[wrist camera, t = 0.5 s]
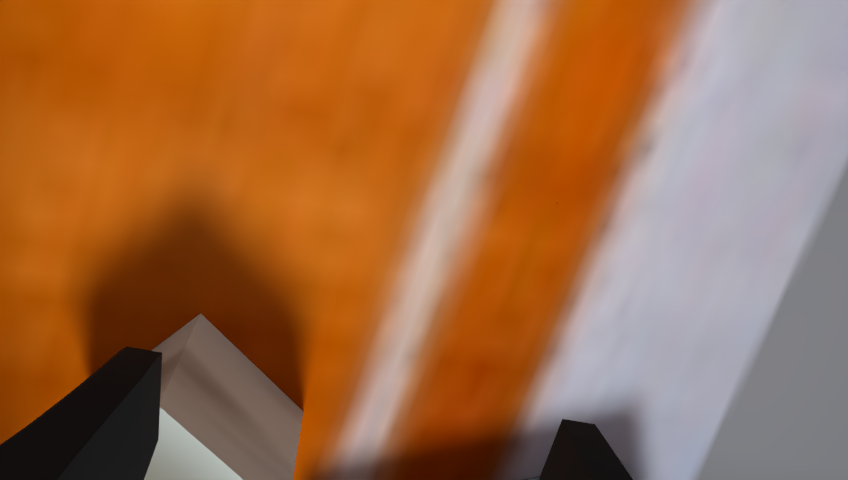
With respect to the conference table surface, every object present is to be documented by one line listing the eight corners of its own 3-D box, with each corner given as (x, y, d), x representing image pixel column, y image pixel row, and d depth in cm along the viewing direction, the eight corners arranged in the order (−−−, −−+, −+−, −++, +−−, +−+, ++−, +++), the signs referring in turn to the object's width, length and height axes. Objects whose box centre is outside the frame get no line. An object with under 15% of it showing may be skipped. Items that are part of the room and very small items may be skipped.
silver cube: (198, 482, 27) (160, 600, 22) (92, 393, 25) (28, 501, 20) (303, 409, 26) (286, 517, 21) (201, 312, 24) (158, 406, 19)
